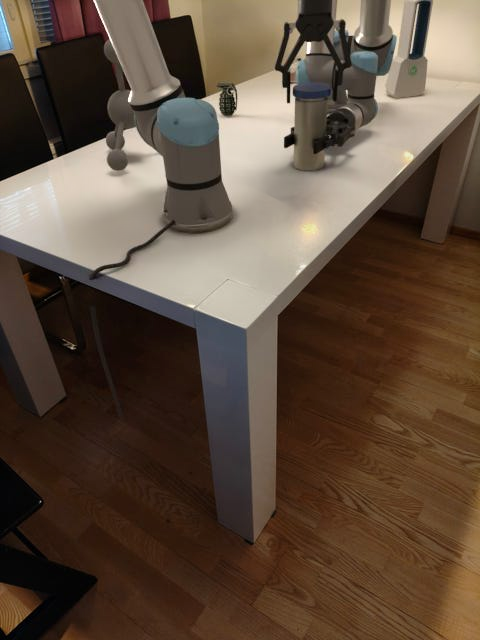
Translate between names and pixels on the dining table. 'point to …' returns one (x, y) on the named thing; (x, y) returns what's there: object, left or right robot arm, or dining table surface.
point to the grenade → (227, 99)
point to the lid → (311, 90)
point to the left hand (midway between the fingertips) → (311, 100)
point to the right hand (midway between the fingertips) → (299, 145)
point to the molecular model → (118, 115)
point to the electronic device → (407, 67)
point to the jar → (309, 132)
